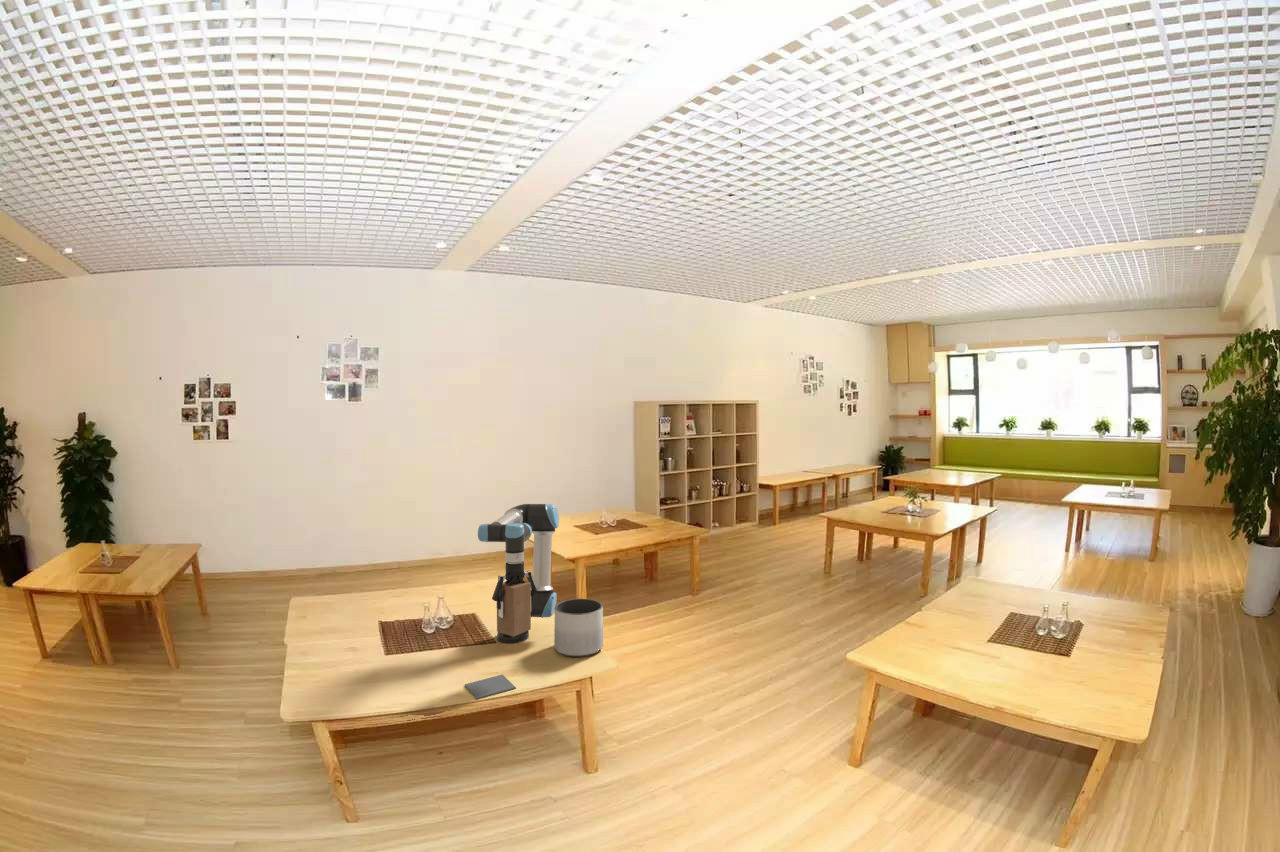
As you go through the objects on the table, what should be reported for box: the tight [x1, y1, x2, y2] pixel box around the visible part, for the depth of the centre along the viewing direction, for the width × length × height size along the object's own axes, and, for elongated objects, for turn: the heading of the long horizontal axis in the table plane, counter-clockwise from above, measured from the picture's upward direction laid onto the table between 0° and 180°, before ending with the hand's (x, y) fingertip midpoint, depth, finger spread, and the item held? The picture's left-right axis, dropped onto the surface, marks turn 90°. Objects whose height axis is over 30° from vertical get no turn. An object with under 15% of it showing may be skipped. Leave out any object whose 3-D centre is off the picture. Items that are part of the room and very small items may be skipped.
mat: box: [464, 674, 516, 701], centre depth 245 cm, size 14×16×1 cm
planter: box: [553, 598, 604, 658], centre depth 283 cm, size 23×23×20 cm
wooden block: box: [496, 580, 532, 637], centre depth 253 cm, size 10×10×20 cm
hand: (515, 613), depth 253 cm, fingers closed on wooden block, 12 cm apart
